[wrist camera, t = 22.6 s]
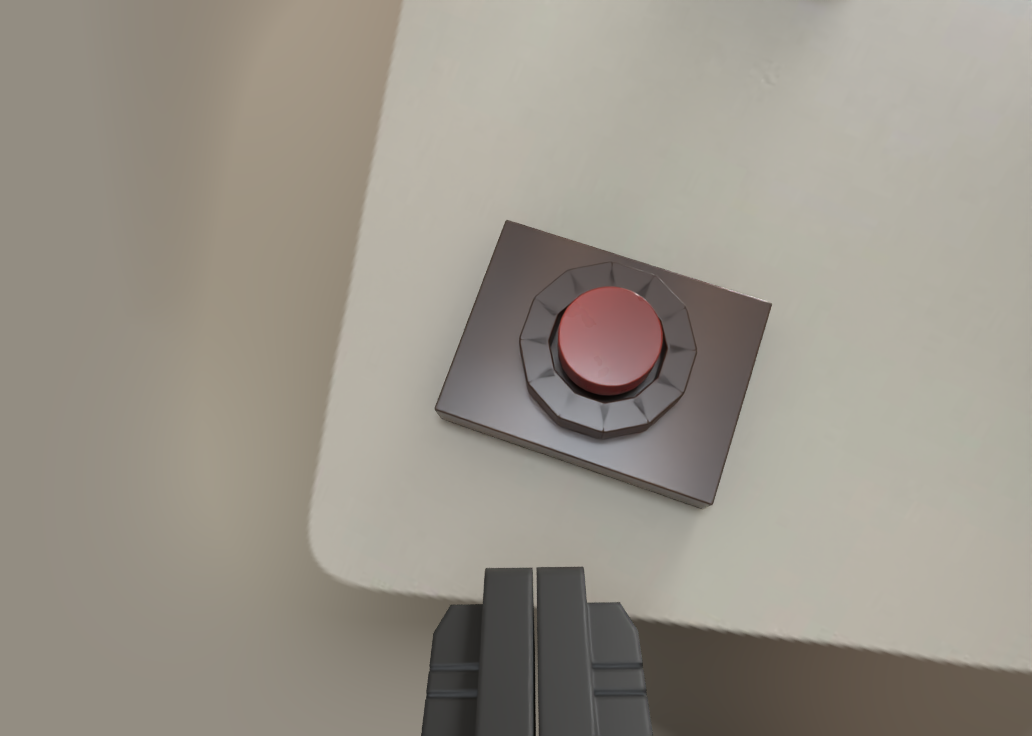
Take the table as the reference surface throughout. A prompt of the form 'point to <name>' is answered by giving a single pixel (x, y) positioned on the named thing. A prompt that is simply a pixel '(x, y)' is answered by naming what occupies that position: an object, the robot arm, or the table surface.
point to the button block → (605, 418)
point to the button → (609, 340)
